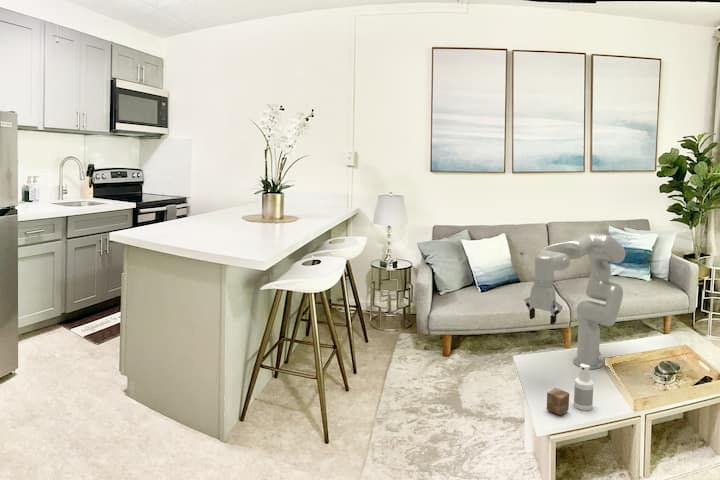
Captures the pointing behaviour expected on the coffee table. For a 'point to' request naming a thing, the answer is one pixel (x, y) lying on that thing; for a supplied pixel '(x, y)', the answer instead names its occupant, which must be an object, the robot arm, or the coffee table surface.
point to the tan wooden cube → (558, 401)
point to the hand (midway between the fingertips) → (542, 321)
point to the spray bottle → (583, 389)
